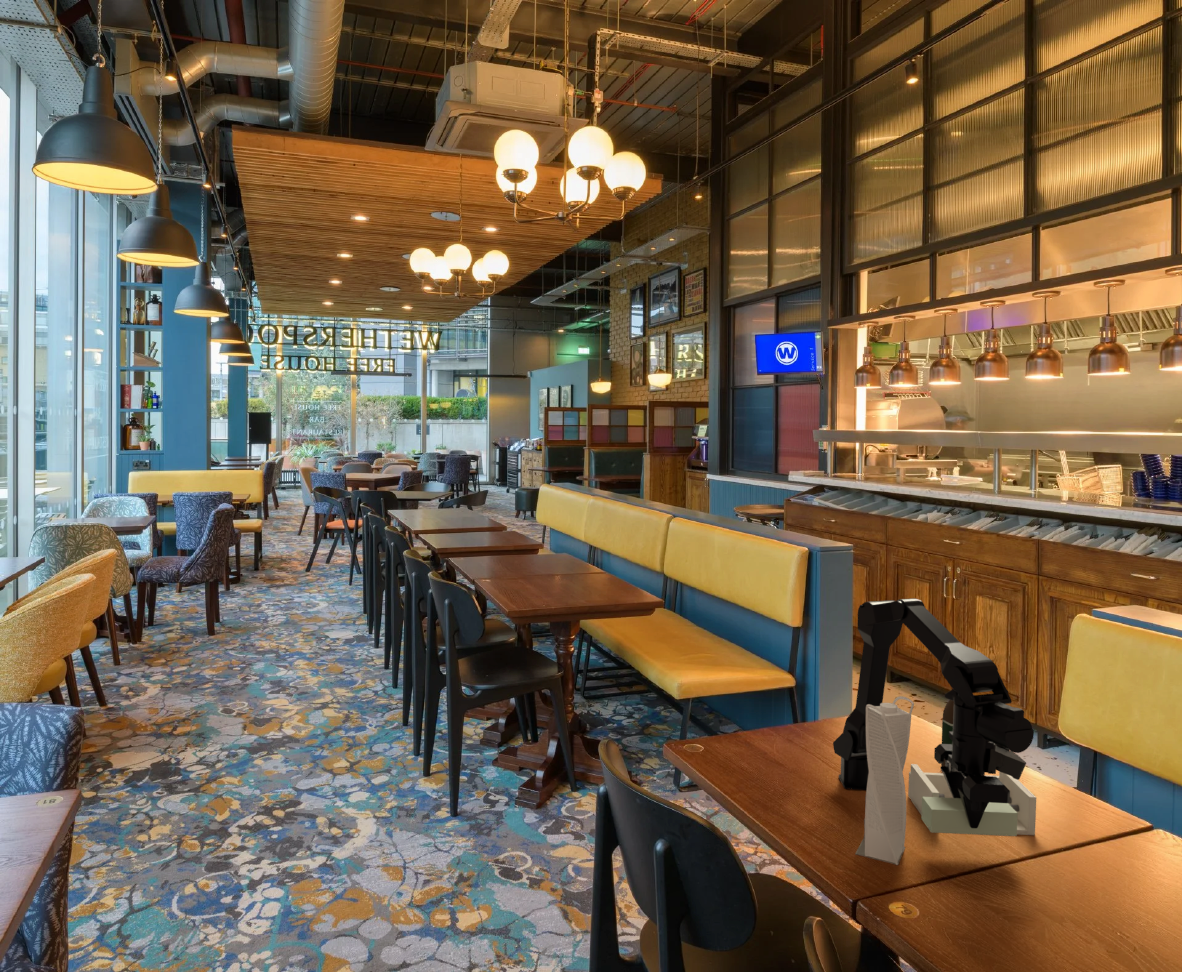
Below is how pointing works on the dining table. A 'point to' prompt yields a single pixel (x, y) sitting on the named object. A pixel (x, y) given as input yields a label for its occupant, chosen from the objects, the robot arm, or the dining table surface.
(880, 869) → the dining table surface
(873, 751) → the skyscraper
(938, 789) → the tray
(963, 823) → the shelf board
